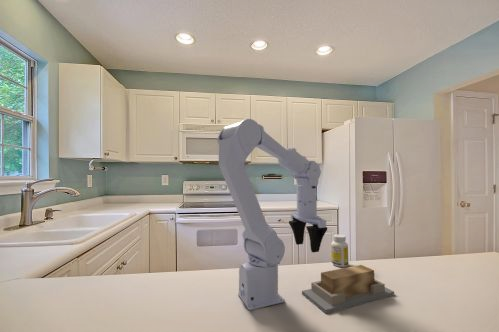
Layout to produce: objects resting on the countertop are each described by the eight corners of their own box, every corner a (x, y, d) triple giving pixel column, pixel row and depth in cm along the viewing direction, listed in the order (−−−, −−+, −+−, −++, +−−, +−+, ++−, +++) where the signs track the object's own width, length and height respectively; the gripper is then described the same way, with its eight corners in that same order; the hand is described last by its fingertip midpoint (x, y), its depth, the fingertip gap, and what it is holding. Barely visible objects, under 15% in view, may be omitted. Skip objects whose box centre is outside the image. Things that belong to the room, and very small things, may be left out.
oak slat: (332, 300, 54) (332, 279, 54) (321, 292, 58) (320, 272, 58) (374, 289, 59) (374, 270, 60) (361, 283, 63) (361, 264, 63)
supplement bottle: (345, 261, 81) (345, 234, 82) (350, 267, 76) (350, 238, 76) (329, 261, 82) (329, 233, 82) (334, 267, 76) (333, 237, 77)
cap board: (325, 313, 50) (325, 300, 51) (301, 294, 59) (301, 282, 59) (394, 294, 59) (394, 283, 59) (364, 280, 67) (364, 270, 67)
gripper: (334, 203, 62) (335, 253, 62) (303, 198, 76) (303, 239, 75) (313, 204, 60) (314, 257, 59) (285, 199, 73) (285, 242, 73)
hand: (306, 247), depth 67 cm, fingers open, 7 cm apart
